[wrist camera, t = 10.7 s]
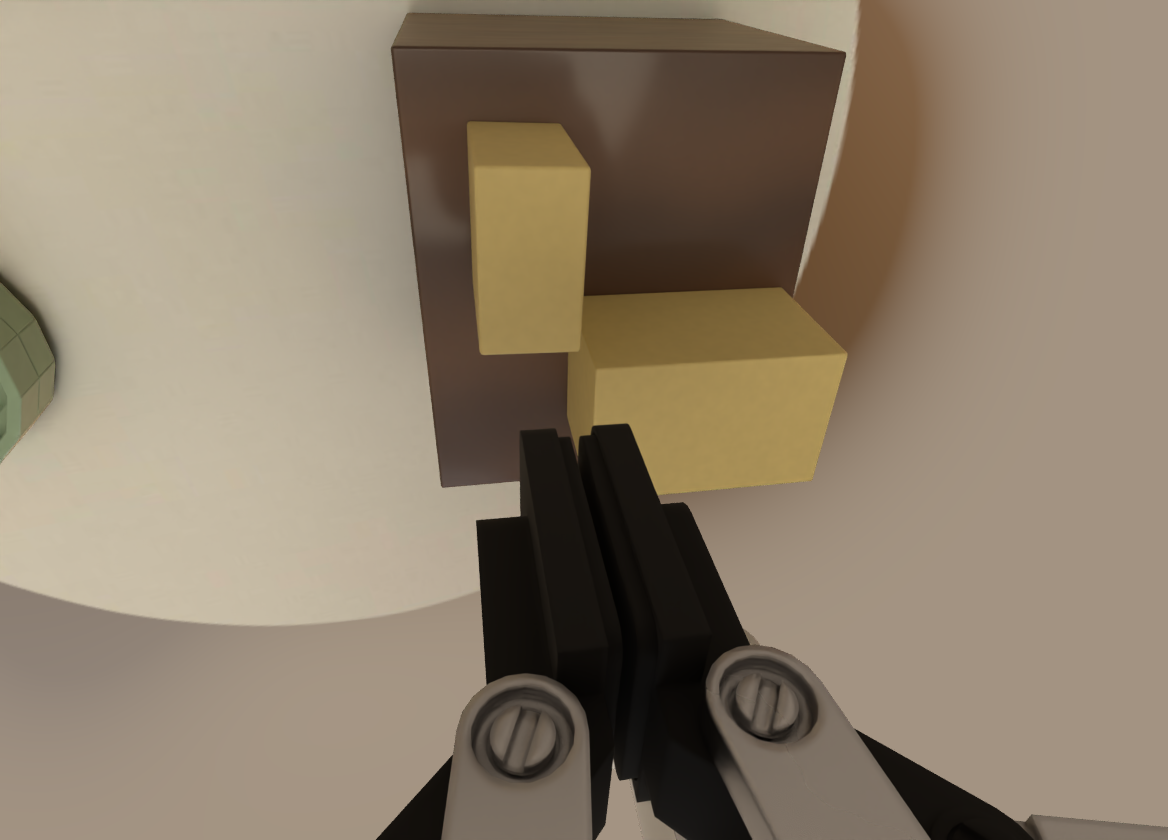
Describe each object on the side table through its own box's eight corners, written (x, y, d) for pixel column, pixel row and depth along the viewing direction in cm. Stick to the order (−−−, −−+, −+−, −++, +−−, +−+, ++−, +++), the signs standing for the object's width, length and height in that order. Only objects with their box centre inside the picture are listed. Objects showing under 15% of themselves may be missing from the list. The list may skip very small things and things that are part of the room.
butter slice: (555, 281, 21) (580, 353, 17) (472, 282, 20) (479, 356, 17) (561, 122, 18) (592, 167, 15) (466, 120, 18) (473, 165, 14)
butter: (757, 402, 25) (812, 481, 21) (566, 416, 24) (589, 502, 20) (781, 286, 22) (849, 353, 19) (569, 295, 21) (595, 369, 17)
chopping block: (683, 340, 34) (757, 461, 26) (441, 353, 33) (441, 488, 24) (723, 19, 26) (847, 52, 18) (406, 12, 25) (390, 45, 17)
